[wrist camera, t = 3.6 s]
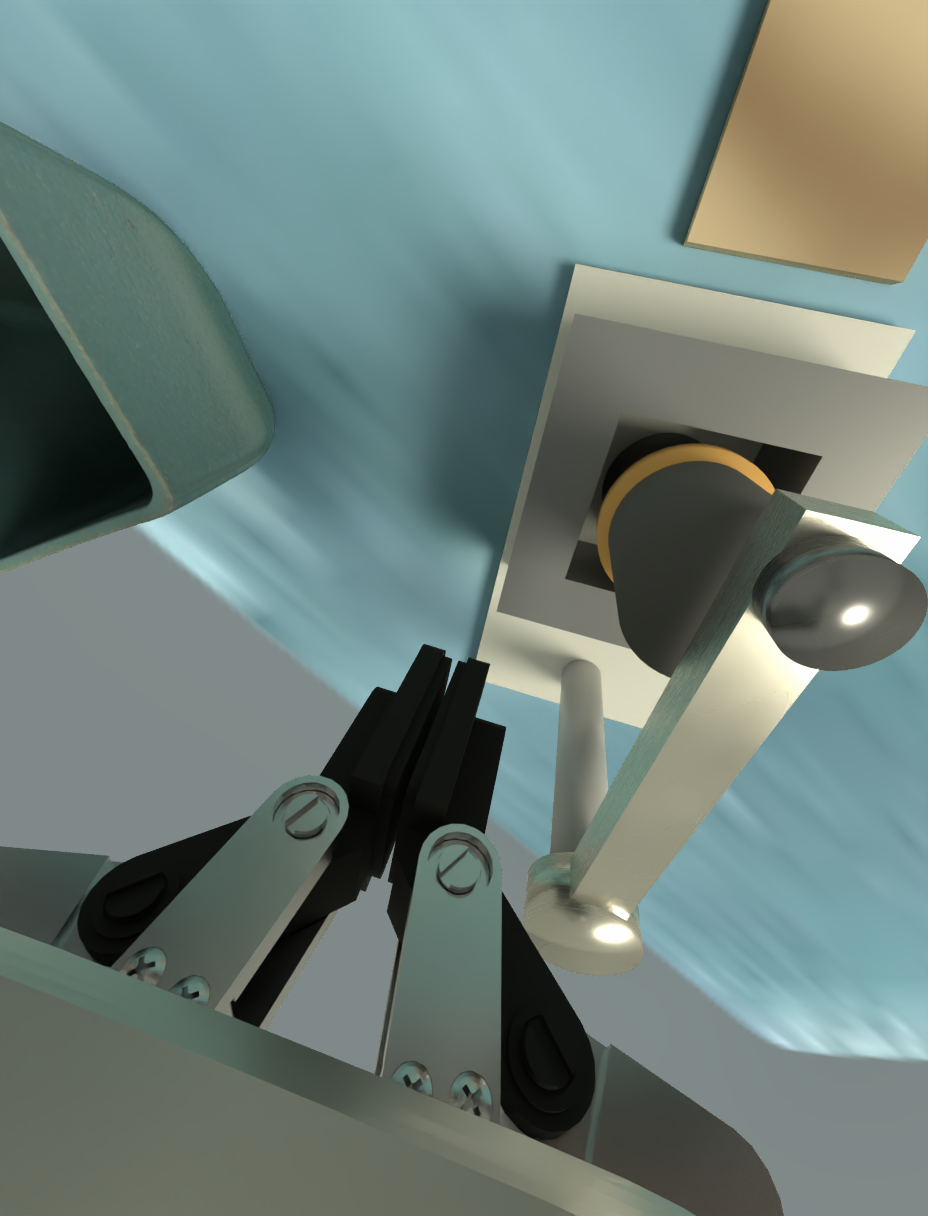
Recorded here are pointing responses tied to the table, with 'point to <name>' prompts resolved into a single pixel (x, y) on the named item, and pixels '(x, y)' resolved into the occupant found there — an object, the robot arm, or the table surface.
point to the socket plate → (684, 404)
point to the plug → (674, 537)
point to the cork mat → (826, 142)
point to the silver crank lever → (726, 712)
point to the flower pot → (108, 362)
